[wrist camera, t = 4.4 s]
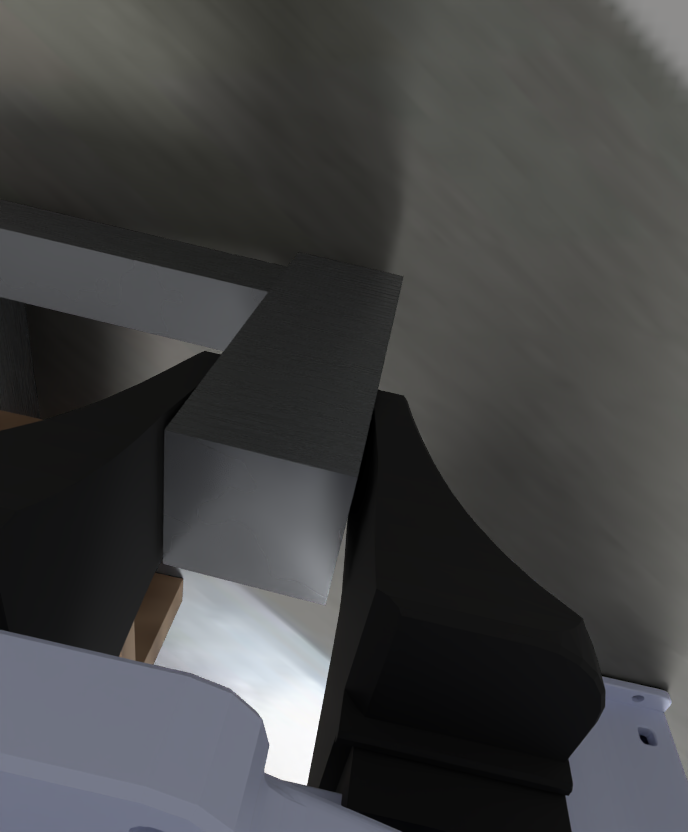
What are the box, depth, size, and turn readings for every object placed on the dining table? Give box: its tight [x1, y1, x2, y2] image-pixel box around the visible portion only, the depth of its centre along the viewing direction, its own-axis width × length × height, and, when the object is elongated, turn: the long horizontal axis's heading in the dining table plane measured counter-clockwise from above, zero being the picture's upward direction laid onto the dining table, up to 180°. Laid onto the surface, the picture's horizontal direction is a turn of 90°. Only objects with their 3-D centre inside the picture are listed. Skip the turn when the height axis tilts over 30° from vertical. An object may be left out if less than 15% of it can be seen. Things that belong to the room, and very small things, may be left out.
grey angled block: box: [0, 199, 404, 605], centre depth 15 cm, size 14×8×9 cm, turn 80°
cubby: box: [0, 410, 183, 665], centre depth 21 cm, size 9×13×6 cm
